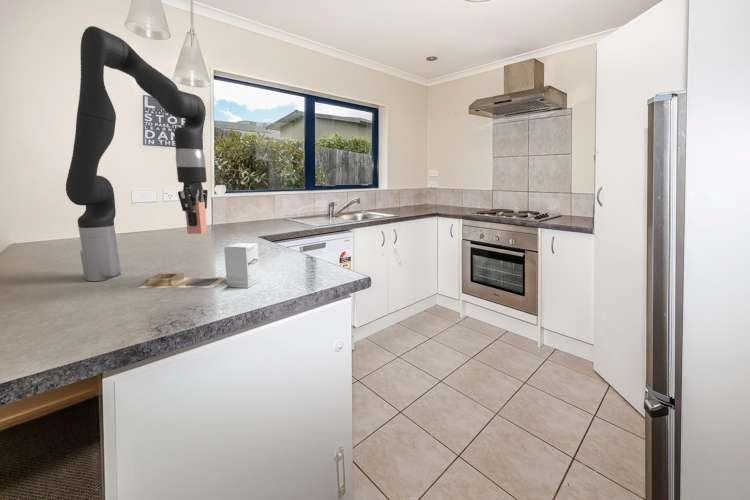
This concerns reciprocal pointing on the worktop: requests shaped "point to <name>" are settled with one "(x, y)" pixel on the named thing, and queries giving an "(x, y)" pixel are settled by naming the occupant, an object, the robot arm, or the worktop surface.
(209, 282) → the board
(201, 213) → the block
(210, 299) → the worktop surface
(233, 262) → the supplement box
